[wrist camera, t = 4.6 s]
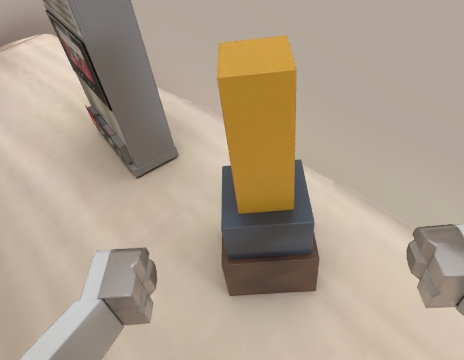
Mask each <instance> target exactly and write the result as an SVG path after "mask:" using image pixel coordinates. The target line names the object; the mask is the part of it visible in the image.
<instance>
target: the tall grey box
mask: <svg viewBox="0 0 464 360" xmlns="http://www.w3.org/2000/svg"><path fill="white" fill-rule="evenodd" d="M42 2H43V4H44V5H45V7H46V9H47V10H46V13H47V15H48V17H49V19H50V21H51V23H52V25H53V27H54V30H55V32H56V34H57V36H58V38H59V40H60V42H61V45H62V47H63V49H64V51H65V53H66V55H67V57H68V59H69V62H70V64H71V66H72V68H73V70H74V71H75V72H76V74H77V76H78V79H79V81H80V83H81V85H82V87H83V89H84V91H85V94H86V96H87V98H88V100H89V102H90V104H91V106H90V107H88V108H87V106H86V105H85V106H86V108H87V110H88V112H89V114H90V116H91V118H92V120H93V123H94V124H95V125H96V127H97V128H98V129H99V131H100V132H101V133H102V134H103V136H104V137H105V138H106V140H107V141H108V142H109V143H110V145H111V146H112V147H113V148H114V150H115V151H116V152H117V153H118V155H119V156H120V157H121V158H122V160H123V161H124V162H125V164H126V165H127V166H128V167H129V169H130V170H131V171H132V172H133V174H134V175H135V176H136V177H138V176H142V175H143V174H144V173H146V172H148V171H150V170H151V169H153V168H155V167H157V166H159V165H161V164H163V163H164V162H166V161H168V160H170V159H173V158H175V157H176V156H178V152H177V149H176V147H175V146H174V143H173V140H172V137H171V133H170V130H169V127H168V123H167V120H166V117H165V113H164V110H163V107H162V103H161V100H160V97H159V93H158V90H157V86H156V83H155V80H154V76H153V73H152V70H151V66H150V63H149V60H148V56H147V53H146V50H145V46H144V43H143V40H142V36H141V33H140V30H139V26H138V23H137V20H136V17H135V13H134V10H133V6H132V3H131V0H42Z"/></svg>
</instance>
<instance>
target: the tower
mask: <svg viewBox="0 0 464 360" xmlns="http://www.w3.org/2000/svg"><path fill="white" fill-rule="evenodd" d="M221 230H222V268H223V272H224V276H225V280H226V284H227V288H228V292H229V295H230V296H231V295H248V294H264V293H281V292H298V291H315V290H316V284H317V275H318V267H319V255H318V250H317V245H316V240H315V236H314V218H313V213H312V209H311V204H310V199H309V195H308V190H307V185H306V180H305V176H304V171H303V166H302V162H301V160H295V176H294V210H282V211H269V212H256V213H243V214H239V213H238V207H237V201H236V194H235V188H234V182H233V175H232V169H231V166H223V167H222V220H221Z"/></svg>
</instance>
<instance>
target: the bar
mask: <svg viewBox="0 0 464 360" xmlns="http://www.w3.org/2000/svg"><path fill="white" fill-rule="evenodd" d="M218 49H219V50H218V71H217V80H218V87H219V93H220V99H221V106H222V112H223V118H224V125H225V131H226V137H227V144H228V150H229V156H230V163H231V169H232V175H233V182H234V188H235V194H236V201H237V207H238V213H239V214H243V213H256V212H269V211H282V210H294V176H295V119H296V67H295V63H294V59H293V55H292V52H291V48H290V45H289V41H288V37H287V36H278V37H269V38H260V39H252V40H242V41H234V42H225V43H219V48H218Z"/></svg>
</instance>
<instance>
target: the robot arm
mask: <svg viewBox="0 0 464 360" xmlns="http://www.w3.org/2000/svg"><path fill="white" fill-rule="evenodd" d="M413 237H414V239H415V240H413V241H412V242H410V243H409V245H408V248H407V261H408V265H409V268H410V270H411V273H412V274H413V275H414V276H416V277H417V278H418V279H419V283H418V286H417V288H418V290H419V293H420V295H421V298H422V300H423V303H424V305H425V307H426V308H443V307H457V308H456V309H457V310H458V311H459V312H460V313H461V314H462V315H463V316H464V224H456V225H452V224H451V225H439V226H427V227H418V228H416V229H415V230H414V232H413ZM148 257H149V252H148V250H147V249H146V248H130V249H111V250H98V251H97V252H96V253H95V255H94V256H93V259H92V262H91V265H90V268H89V272H88V275H87V278H86V281H85V284H84V288H83V291H82V294H81V297H80V300H77V301H74V302H73V303H72V304H71V305H70V306H69V307H68V308H67V310H66V311H65V312H64V313H63V314H62V315H61V316H60V317H59V318H58V319H57V320H56V321H55V322H54V323H53V324H52V325H51V326H50V327H49V328H48V329H47V331H46V332H45V333H44V334H43V335H42V336H41V337H40V338H39V339H38V340H37V341H36V342H35V343H34V344H33V345H32V346H31V347H30V348H29V349H28V351H27V352H26V353H25V354H24V355H23V356H22V357H21V358H20V359H19V360H102V358H103V357H104V355H105V354H106V352H107V351H108V350H109V348H110V347H111V345H112V344H113V342H114V341H115V339H116V338H117V337H118V335H119V334H120V332H121V331H122V329H123V328H124V326H123V325H135V324H147V323H150V321H151V315H152V308H153V301H152V299H151V298H150V295H151V294H152V293H153V292H154V291H155V289H156V282H157V271H156V267H155V264H154V262H153V261H152V260H150V259H148Z"/></svg>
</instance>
